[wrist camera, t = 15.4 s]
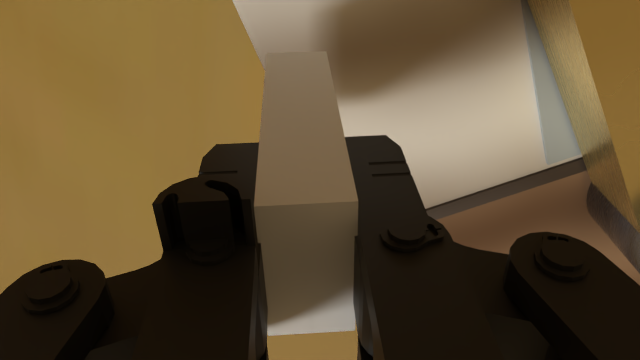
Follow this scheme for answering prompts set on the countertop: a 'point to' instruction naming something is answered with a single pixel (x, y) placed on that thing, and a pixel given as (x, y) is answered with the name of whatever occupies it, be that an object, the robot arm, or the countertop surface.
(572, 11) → the latch bar
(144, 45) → the countertop surface
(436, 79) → the door board
